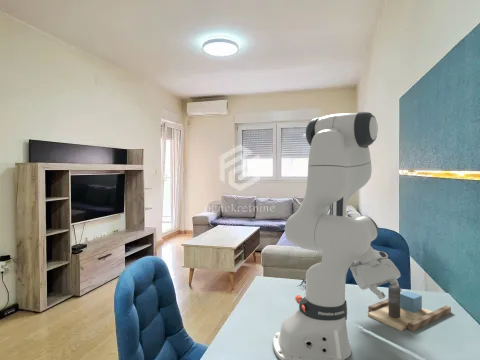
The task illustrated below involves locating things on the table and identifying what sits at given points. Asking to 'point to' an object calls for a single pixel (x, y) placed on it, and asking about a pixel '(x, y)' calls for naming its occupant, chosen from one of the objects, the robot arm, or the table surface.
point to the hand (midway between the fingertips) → (391, 295)
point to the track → (420, 321)
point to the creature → (302, 282)
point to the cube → (411, 301)
